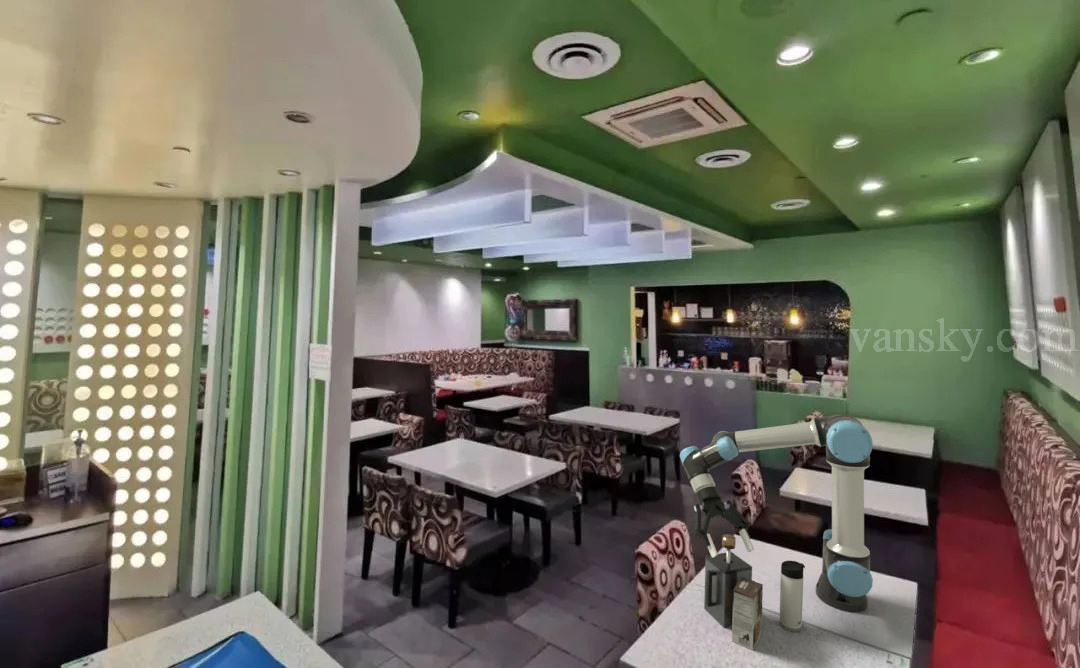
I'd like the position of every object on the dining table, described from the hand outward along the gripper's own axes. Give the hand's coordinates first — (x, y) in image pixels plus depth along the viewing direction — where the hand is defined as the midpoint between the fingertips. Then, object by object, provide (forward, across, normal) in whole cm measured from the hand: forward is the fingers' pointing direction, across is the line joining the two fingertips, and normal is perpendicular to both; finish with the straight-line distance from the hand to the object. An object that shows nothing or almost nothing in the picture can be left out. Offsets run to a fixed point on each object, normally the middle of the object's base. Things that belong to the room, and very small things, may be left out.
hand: (733, 553), depth 153 cm
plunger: (+12, 0, -15) cm, 20 cm away
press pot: (+14, +1, -17) cm, 22 cm away
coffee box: (+22, +2, -9) cm, 24 cm away
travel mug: (+21, -16, -10) cm, 28 cm away
